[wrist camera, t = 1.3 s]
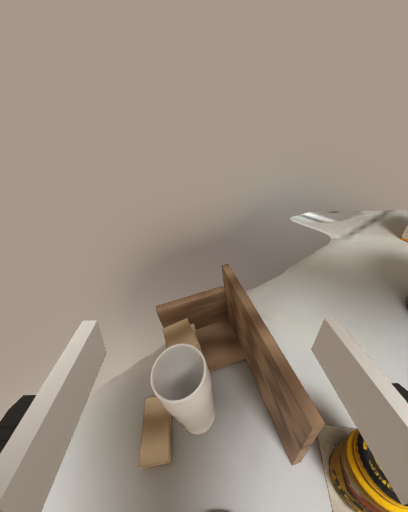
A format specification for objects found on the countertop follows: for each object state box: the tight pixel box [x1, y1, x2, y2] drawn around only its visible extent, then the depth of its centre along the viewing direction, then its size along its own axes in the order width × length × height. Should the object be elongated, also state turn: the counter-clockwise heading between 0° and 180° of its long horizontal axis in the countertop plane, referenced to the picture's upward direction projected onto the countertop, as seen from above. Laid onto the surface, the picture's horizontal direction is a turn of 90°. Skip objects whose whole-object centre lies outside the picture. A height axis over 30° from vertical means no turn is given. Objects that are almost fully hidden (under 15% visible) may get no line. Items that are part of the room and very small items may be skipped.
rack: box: [156, 264, 325, 465], centre depth 31 cm, size 24×15×16 cm, turn 15°
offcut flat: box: [139, 396, 171, 468], centre depth 31 cm, size 8×4×2 cm, turn 7°
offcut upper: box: [162, 318, 200, 350], centre depth 37 cm, size 6×5×2 cm
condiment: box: [317, 425, 408, 512], centre depth 22 cm, size 7×8×12 cm
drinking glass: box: [150, 344, 215, 434], centre depth 28 cm, size 7×7×15 cm
